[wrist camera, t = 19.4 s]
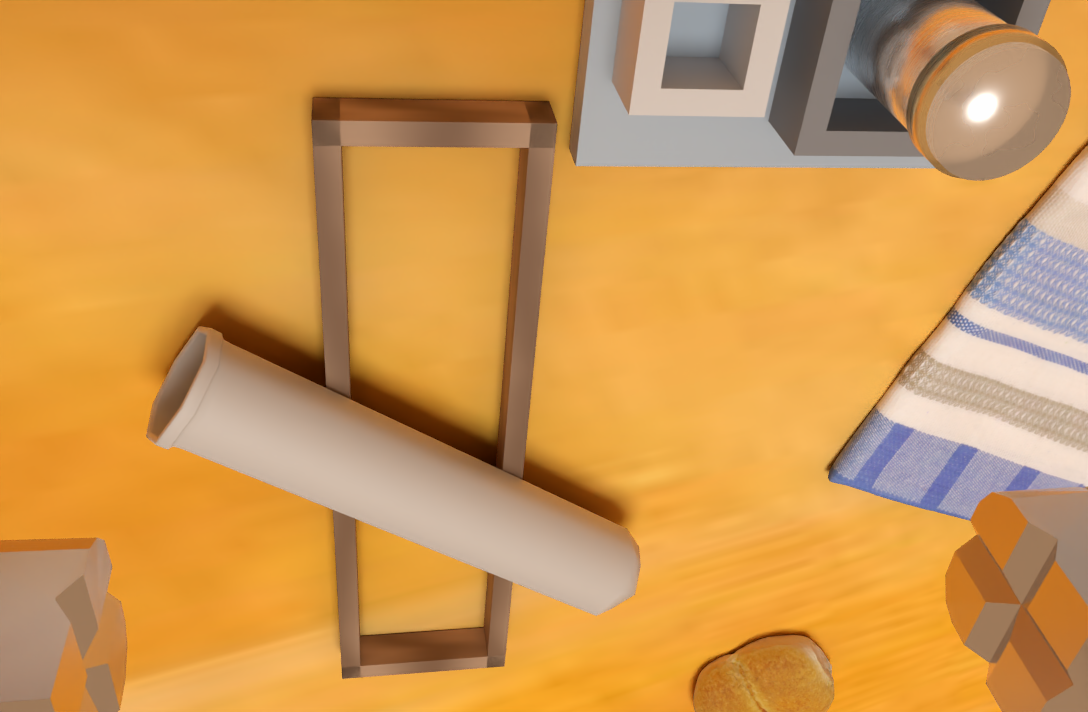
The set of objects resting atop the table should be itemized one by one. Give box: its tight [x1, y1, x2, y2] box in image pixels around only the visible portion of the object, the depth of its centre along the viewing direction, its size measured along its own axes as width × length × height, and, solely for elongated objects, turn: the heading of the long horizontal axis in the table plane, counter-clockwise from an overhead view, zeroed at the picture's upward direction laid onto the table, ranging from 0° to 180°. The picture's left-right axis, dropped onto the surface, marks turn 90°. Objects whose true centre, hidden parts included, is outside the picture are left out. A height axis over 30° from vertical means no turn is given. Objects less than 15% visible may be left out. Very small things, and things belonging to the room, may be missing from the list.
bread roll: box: [693, 635, 834, 712], centre depth 65 cm, size 8×9×4 cm
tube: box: [146, 326, 640, 616], centre depth 48 cm, size 5×5×25 cm
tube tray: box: [312, 98, 557, 679], centre depth 49 cm, size 9×33×2 cm, turn 175°
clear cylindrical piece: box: [844, 0, 1071, 180], centre depth 35 cm, size 5×5×8 cm
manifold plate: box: [569, 0, 1050, 168], centre depth 38 cm, size 16×12×4 cm
